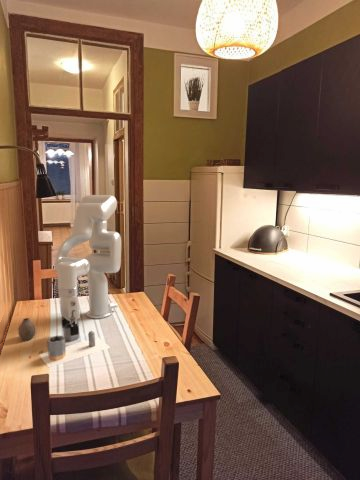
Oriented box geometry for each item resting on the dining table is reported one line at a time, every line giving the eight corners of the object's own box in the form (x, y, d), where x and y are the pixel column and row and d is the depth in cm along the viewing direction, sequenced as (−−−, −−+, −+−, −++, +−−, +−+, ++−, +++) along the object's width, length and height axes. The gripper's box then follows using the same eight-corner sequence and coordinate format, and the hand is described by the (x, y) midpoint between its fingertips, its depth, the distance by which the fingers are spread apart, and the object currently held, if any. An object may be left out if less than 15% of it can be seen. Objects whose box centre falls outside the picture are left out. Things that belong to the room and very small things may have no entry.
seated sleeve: (62, 351, 136) (61, 334, 134) (67, 357, 131) (66, 339, 130) (47, 355, 132) (45, 338, 131) (51, 362, 128) (50, 344, 126)
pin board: (97, 340, 148) (96, 323, 147) (110, 351, 138) (109, 332, 137) (39, 358, 134) (37, 339, 132) (48, 371, 124) (47, 351, 123)
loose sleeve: (76, 337, 151) (75, 321, 150) (81, 341, 147) (80, 326, 146) (62, 340, 148) (61, 325, 147) (67, 345, 143) (66, 329, 142)
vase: (39, 335, 153) (38, 317, 151) (28, 342, 146) (26, 323, 145) (27, 333, 155) (25, 315, 154) (15, 340, 149) (13, 321, 147)
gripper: (85, 294, 139) (87, 335, 141) (69, 285, 152) (71, 323, 155) (66, 298, 134) (68, 340, 137) (52, 288, 148) (54, 327, 150)
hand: (70, 331), depth 146 cm, fingers open, 9 cm apart
